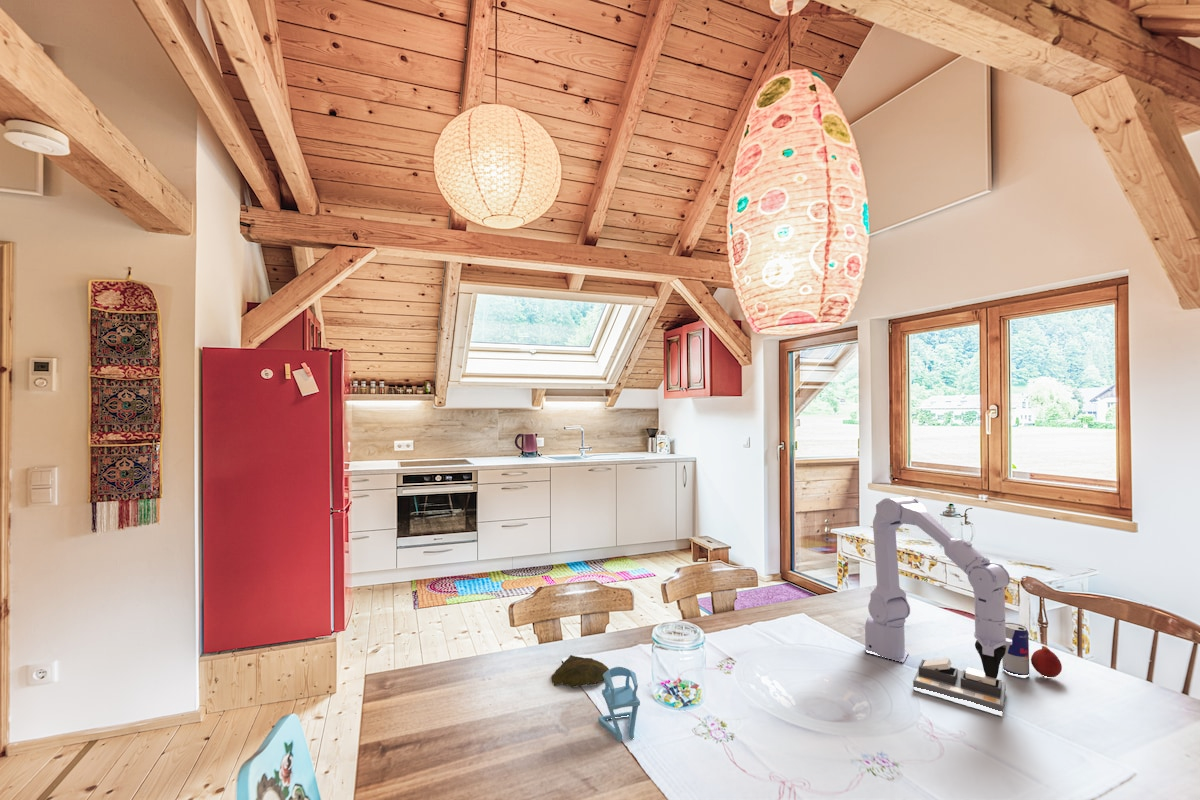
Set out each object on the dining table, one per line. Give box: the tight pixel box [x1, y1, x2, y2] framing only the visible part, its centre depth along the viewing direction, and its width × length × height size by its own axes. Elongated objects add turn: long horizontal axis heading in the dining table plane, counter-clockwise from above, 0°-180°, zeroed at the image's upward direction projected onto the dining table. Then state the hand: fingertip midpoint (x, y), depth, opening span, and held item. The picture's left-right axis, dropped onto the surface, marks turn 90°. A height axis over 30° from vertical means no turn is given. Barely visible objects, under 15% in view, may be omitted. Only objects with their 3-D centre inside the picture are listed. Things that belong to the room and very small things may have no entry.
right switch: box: [965, 666, 997, 686], centre depth 121 cm, size 6×4×2 cm, turn 50°
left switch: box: [922, 657, 952, 672], centre depth 127 cm, size 6×4×2 cm, turn 50°
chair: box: [597, 666, 641, 743], centre depth 110 cm, size 8×8×12 cm
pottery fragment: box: [551, 654, 610, 688], centre depth 131 cm, size 13×14×4 cm
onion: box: [1030, 645, 1063, 678], centre depth 130 cm, size 6×6×8 cm
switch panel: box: [912, 659, 1007, 713], centre depth 124 cm, size 17×13×4 cm
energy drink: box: [1001, 622, 1030, 675], centre depth 133 cm, size 5×5×12 cm
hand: (991, 676), depth 120 cm, fingers closed
